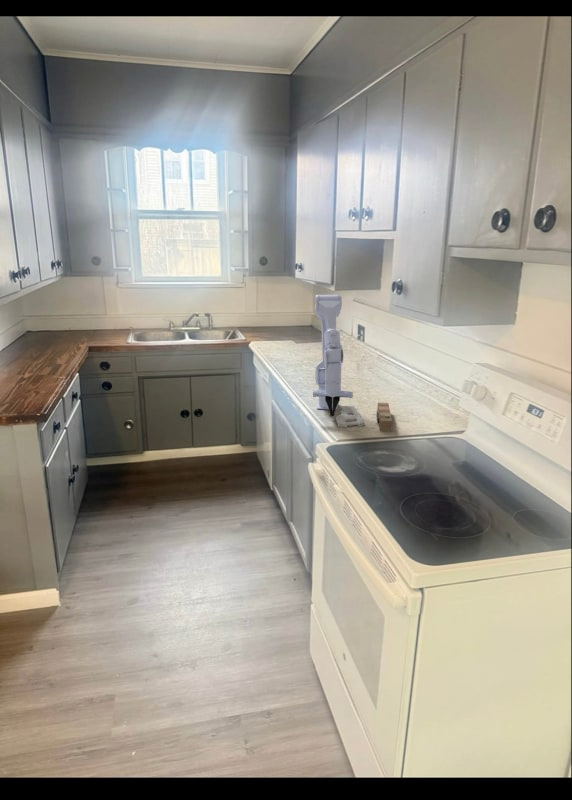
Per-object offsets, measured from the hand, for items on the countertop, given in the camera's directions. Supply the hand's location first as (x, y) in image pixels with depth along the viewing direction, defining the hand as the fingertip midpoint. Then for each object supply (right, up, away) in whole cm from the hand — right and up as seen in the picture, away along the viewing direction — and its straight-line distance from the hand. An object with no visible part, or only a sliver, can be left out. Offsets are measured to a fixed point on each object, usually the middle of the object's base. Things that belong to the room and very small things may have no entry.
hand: (332, 415), depth 195 cm
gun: (+6, -2, +1) cm, 7 cm away
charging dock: (+19, -2, -2) cm, 19 cm away
